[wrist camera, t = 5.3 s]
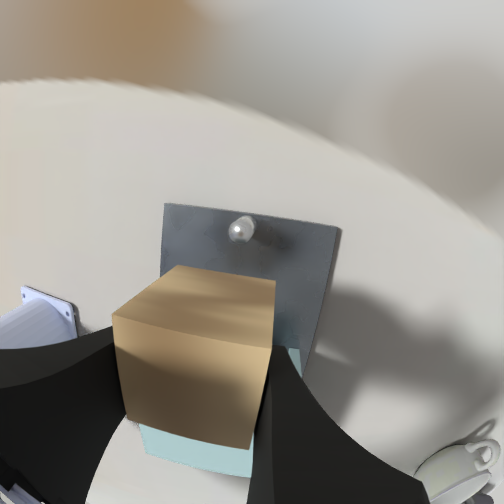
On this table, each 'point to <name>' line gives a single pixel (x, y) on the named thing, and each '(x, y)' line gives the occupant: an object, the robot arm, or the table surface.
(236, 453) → the cover
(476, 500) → the bluetooth speaker
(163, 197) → the table surface
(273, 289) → the oak block
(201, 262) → the base plate
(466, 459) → the teacup
